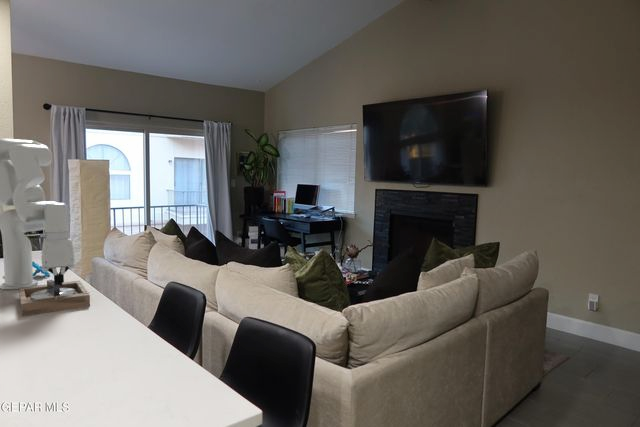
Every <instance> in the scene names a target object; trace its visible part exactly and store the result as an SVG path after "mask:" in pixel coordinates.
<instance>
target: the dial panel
mask: <svg viewBox="0 0 640 427" xmlns="http://www.w3.org/2000/svg"><path fill="white" fill-rule="evenodd" d="M59 286H60V288H72V289H75V291H76V294H72V295H65V296H58V297H50V298H43V299H36V300H31V298H30V295H31V294H33V293H35V292H38V291H41V290H46V289H47V283H46V284H40V285H38V284H37V285H35V286H29V287H21V288H19V289H18V297H19V298H18V299H19V305H20V310H21V317H23V316H24V315H25V316H32V315H36V314H37V315H38V314H45V313H51V312H57V311H63V310H64V311H65V310H70V309H76V308H77V309H78V308H82V307H89V306H91V300H90V299H91V298H90V296H91V295H90V292H89V291H87V288H85V286H84V285H83V283H82V282H81V280H72V281H64V282H63V283H62V285H59Z"/></svg>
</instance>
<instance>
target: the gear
mask: <svg viewBox="0 0 640 427" xmlns="http://www.w3.org/2000/svg"><path fill="white" fill-rule="evenodd" d="M32 268H34V269H36V270H35V271H33V278H34V277H35V276H36V275H37V274H40V273H41V274H42V275H45V276H46V277H50V276H51V274H50V273H51V272H49V271H42V270H41V268H42V265H40V264H38V263H36V262H35V261H33V260H32Z"/></svg>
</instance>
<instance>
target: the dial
mask: <svg viewBox="0 0 640 427" xmlns="http://www.w3.org/2000/svg"><path fill="white" fill-rule="evenodd" d="M46 284H47V289H46V290H41V291H38V292H35V293H33V294H31V295H30V298H31V300H36V299H43V298H50V297H58V296H65V295H72V294H76V291H75V289H72V288H60V286H59V285H58V284H57V283H56V282H54V279H48V280H47V279H46Z"/></svg>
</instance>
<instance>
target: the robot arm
mask: <svg viewBox="0 0 640 427" xmlns="http://www.w3.org/2000/svg"><path fill="white" fill-rule="evenodd" d="M52 162H53V153H52V151H51V149H50V148H49V147H48V146H47V145H45V144H43V143H40V142H38V141H35V140H30V139H19V138H18V139H17V138H16V139H15V138H0V204H1V205H2V206H4V207H11V208H12V209H6V210H4V211H2V212H1V213H0V233H1V240H2V251H3V252H2V253H3V254H2V255H3V272H4V275H3V276H2V279H3V280H4V282H3V283H1V284H0V288H1V289H2V290H19V288H21V287H29V286H38V280H37V279H34V277H33V273H34V271H33V265H32V261H33V254H32V251H33V249H32V243H31V240H30V238H28V236H27V235H26V234H25V233H28V232H37V231H43V230H44V233H41V234H39V237H40V238H41V239H44V240H42V244H41V245H42V246H41V266H42V268H41V270H42V271H47V272H48V273H51V274H52V276H53V281H54V282H56V283H57V284H58V285H62V283H63V282H65V278H64V277H65V273H66V272H68V270H71V269H74V268H75V266H76V265H75V252H74V245H73V240H72V239H71V238H70V236H69V234H70V233H69V216H68V215H69V214H68V211H69V209H68V205H67V204H66V203H64V202H57V201H56V200H55V201H54V200H46V195H45V192H44V189H43V187H42V186H40V185H41V184H42V183H43V182H45V178H46V177H45V174H44V172H43V169H42V167H48V166H50V165H51V164H52ZM13 207H14V208H13ZM57 268H60V269H59V272H58V270H57Z"/></svg>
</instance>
